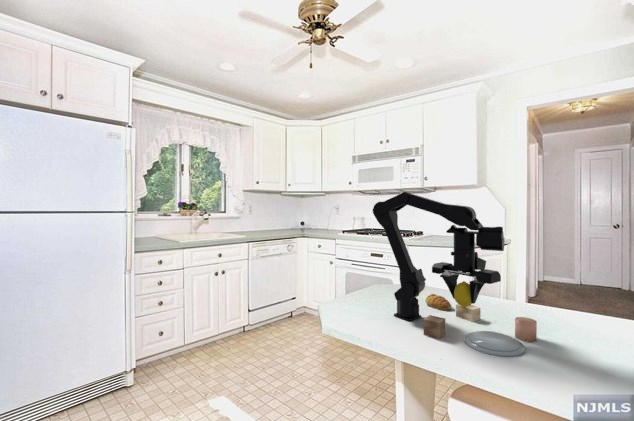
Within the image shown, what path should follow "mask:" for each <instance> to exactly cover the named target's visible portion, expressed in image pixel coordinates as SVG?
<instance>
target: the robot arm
mask: <svg viewBox="0 0 634 421" xmlns="http://www.w3.org/2000/svg"><path fill="white" fill-rule="evenodd" d="M406 206H410V207H413V208H415V209H420V210H423V211H426V212H429V213H432V214H435V215H438V216H440V217H442V218H443V219H445V220H447V221H449V222H451V223H453V224H452V225H450V228H448V229H447V230H446V232H445V233H447V234H453V251H450V256H453V263H451V262H450V263H449V262H446V261H445V262H444V261H443V262H437V263H436V262H435V263H433V264H432V266H431V273H433V274H437V275H439V277H440V278H442V280H443V281H444V283H445V284H446V286H447V288H448V290H449V293H450V294H451V296H452V298H453V299H454V300H455V298H454V290H455V287H456V285H457V284H458V279H459V276H460V275H462V276H466V277H472V278H473V279H472V280H470V281H469V284H470V293H471V301H472V304H471V305H475V304H476V302H477V300H478V297H479V294H480V293H481V290H482V288H483V287H484V285H485V284H488V285H489V284H491V285H493V284H496V283H499V282H501V281H502V278H501V276H502V275H501V274H500V272H499V271H498V270H493V269H492V270H491V269H488V268H487V269H486V264H487V260H485V259H484V258H481V257H479V255H478V251H476V248H475V247H478V248H480V250H481V251H482V250H483V251H492V252H493V251H494V252H495V251H496V252H504V250H505V237H504V226H484V225H483V224H482V223H481V222H480V221H479V219H478V218H477V213H476V210H475V209H474V208H473V207H472V206H471V207H470V206H466V205H461V204H460V205H459V204H450V203H444V202H440V201H439V200H434V199H431V198H427V197H424V196H420V195H417V194H414V193H412V192H409V191H402V192H400V193H399V194H397V195H395V196H393V197H391V198H389V199H386V200H384V201H378V202H376V203H375V204H374V205H373V207H372V214H373V216H374V218H375V219H376V221H377V222H378V223H379V225H380V226H381V228H383V230H384V231H385V234H386V237H387V240H388V242H389V243H388V244H389V245H390V247H391V248H390V249H391V250H392V253H393V255H394V258H395V262H396V263H397V266H398V269H399V283H400V288H398V289H397V290H396V291H395V292H394V294H393V295H394V298H395V300H396V313H393V316H394V317H397V318H399V319H402V320H404V321H408V322H410V321H414V320H417V319H420V318H422V315H421V314H420V304H419V299H418V298H417V297H419V295H420V293H421V292H423V291H424V290H425V288H426V282H425V281H426V280H427V279H426V277H425V276H424V273H423V270H422V268H419V269H417V268H416V266H415V265H414V264H413V262H412V259H411V256H410V254H409V251H408V249H407V245H406V243H405V240H404V238H403V235H402V232H401V230H400V228H399V223H398V217H399V215H398V212H399V211H400V210H402V209H403V208H404V207H406Z"/></svg>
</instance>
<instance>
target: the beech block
mask: <svg viewBox="0 0 634 421" xmlns="http://www.w3.org/2000/svg"><path fill="white" fill-rule="evenodd" d="M455 317H456V318H460V319H463V320H466V321H469V322H471V323H474V322H478V321H480V320H481V307H480V306H476V305H474V304H471V305H470V306H467V307H466V308H463V307H462V306H461V305H459V304H458V303H456V304H455ZM477 320H478V321H477Z"/></svg>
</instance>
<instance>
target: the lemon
mask: <svg viewBox="0 0 634 421" xmlns="http://www.w3.org/2000/svg"><path fill="white" fill-rule="evenodd" d="M454 298H455V299H454ZM454 298H453V299H454V300H455V302H456V304H459V305H461V306H462V307H463V308H466V307H467V306H470V305H473V304H472V301H471V293H470V283H469V282H466V281H462V282H459V283H457V285H456V287H455V290H454Z"/></svg>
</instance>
